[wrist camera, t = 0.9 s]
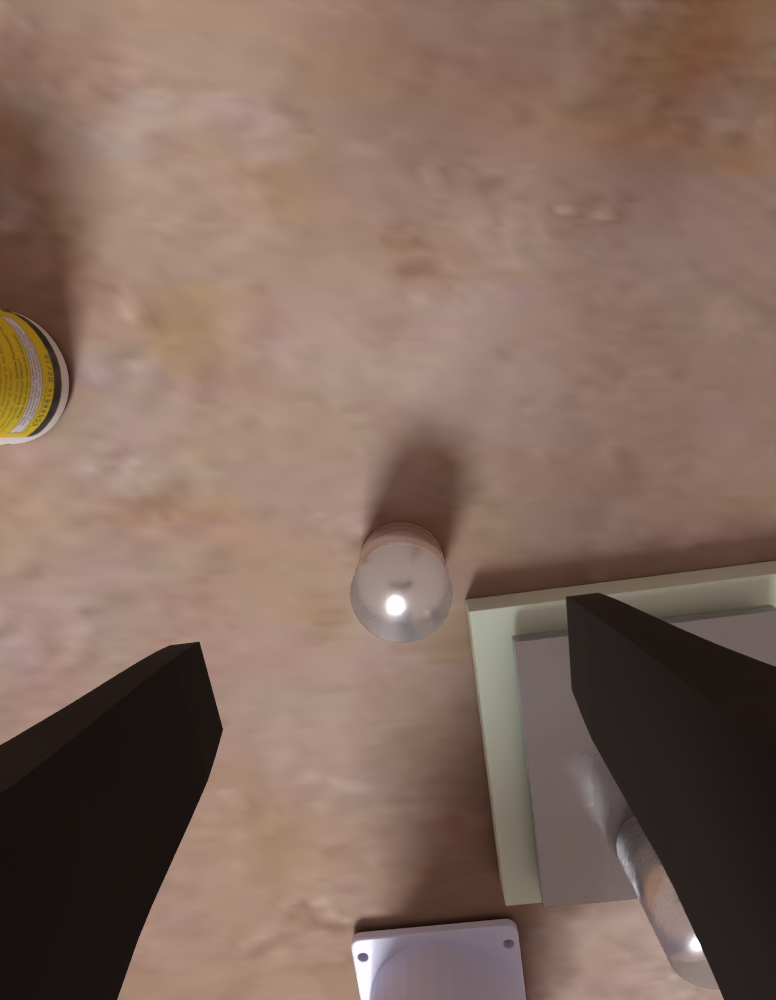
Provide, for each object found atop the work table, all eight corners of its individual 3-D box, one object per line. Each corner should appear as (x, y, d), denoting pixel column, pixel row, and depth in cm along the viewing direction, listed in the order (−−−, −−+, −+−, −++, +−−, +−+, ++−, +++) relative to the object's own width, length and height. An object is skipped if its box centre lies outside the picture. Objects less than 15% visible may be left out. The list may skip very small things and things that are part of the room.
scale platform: (761, 853, 22) (787, 884, 21) (534, 874, 23) (543, 907, 21) (753, 596, 21) (781, 610, 19) (506, 626, 21) (514, 642, 20)
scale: (802, 848, 23) (833, 881, 22) (499, 877, 24) (506, 912, 22) (798, 557, 21) (831, 569, 20) (465, 599, 22) (469, 614, 20)
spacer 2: (707, 877, 21) (777, 983, 17) (619, 885, 21) (668, 993, 17) (703, 800, 20) (775, 892, 16) (613, 809, 21) (662, 902, 17)
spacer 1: (448, 596, 22) (458, 635, 18) (366, 607, 22) (358, 648, 18) (437, 516, 21) (445, 538, 18) (353, 527, 22) (343, 552, 18)
